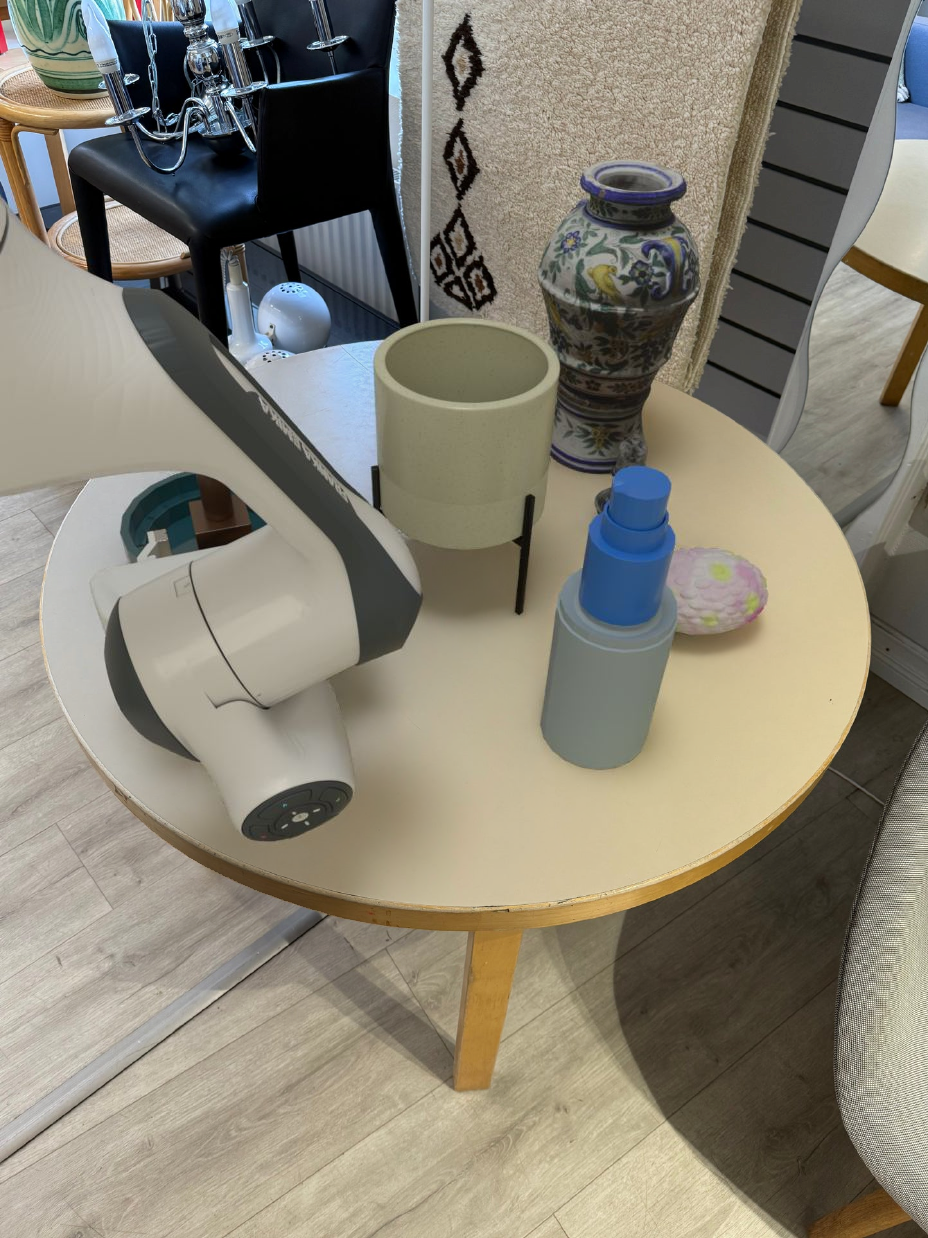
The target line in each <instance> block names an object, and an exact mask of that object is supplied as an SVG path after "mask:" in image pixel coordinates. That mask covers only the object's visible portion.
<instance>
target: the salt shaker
mask: <svg viewBox="0 0 928 1238" xmlns="http://www.w3.org/2000/svg"><path fill="white" fill-rule="evenodd" d="M632 437H633V438H628V439H625V440H624V441H623V442H621V444H620V446H619V451H618V457H617V463H616V465H615V466H613V467H612V469H611V473H610V475H611V476H612V482H611V487H607V488H604V489H602V490H601V491H599V492H598V493H597V494H596V495H595V497H594V502H593V504H594V507H595V510H596V513H597V515H599V514H600V513H602V512H603V511H604V506H605V504H606V503H607V501H608V500H610V497H611V491H612V485H613V480H614V476H615V475H616V473H617V472H618V471H619V470H621V469H623V468H626V467H630V466H644V467H646V462H647V457H648V453H649V448H648V444H647V443H646V441H645V440H644V441H642V440H641V439H638V438H639V435H638V434H637V433H635V434H634V435H632Z"/></svg>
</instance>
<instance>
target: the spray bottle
mask: <svg viewBox="0 0 928 1238" xmlns="http://www.w3.org/2000/svg"><path fill="white" fill-rule="evenodd" d="M612 481H613V485H612V484H611V486H612V491H611V497H610V500H608V501H607V503H606V504H605V506H604V511H603V512H602V513H600V514H599V515H598V514H597V515H595V516H594V518H593V519H592V520H591V522H590V523H589V526H588V532H587V537H586V544H585V551H584V558H583V564H582V567H580V568H579V569H578V570H576V571H574V572H573V573H572V574H570V575H568V577H567V579H566V580H565V582H563V585H562V586H561V590H560V591H559V593H558V594H557V601H556V607H555V609H556V610H555V615H554V623H553V630H552V637H551V646H550V650H549V651H550V652H549V659H548V666H547V673H546V680H545V689H544V696H543V704H542V710H541V716H540V723H539V725H540V729H541V734H542V736H543V739H544V741H545V742H546V743H547V745H548V746H549V748H550V749H551V751H553V752H554V753H555V754H557V755H558V756H559V757H560V758H561V759H563V760H564V761H566V762H568V763H570V764H573V765H575V766H578V767H579V768H585V769H593V770H608V769H616V768H618V767H621V766H623V765H625V764H629V763H630V762H631V761H633V760H634V759H635V758H636V757H637V756H638V755H639V754H640V753H641V752H642V749H643V747H644V746H645V743H646V741H647V738H648V734H649V731H650V726H651V723H652V719H653V715H654V712H655V708H656V704H657V701H658V697H659V694H660V690H661V687H662V682H663V678H664V675H665V672H666V668H667V664H668V660H669V656H670V652H671V650H672V645H673V642H674V637H675V634H676V627H677V601H676V599H675V596H674V594H673V592H672V590H671V589H670V588H669V587H668V586H667V585H666V580H667V576H668V572H669V568H670V564H671V560H672V556H673V552H674V551H675V548H676V547H675V546H676V534H675V531H674V529H673V528H672V526H671V525H670V524H669V521H670V513H669V511H668V504H669V500H670V496H671V492H672V482H671V480H670V478H669V476H667V475H666V474H665V473H664V471H663V472H662V471H660V470H659V469H656V468H653V467H649V466H645V467H644V466H630V467H626V468H623V469H621V470H619V471H618V472H617V473H616V475H615V476H614V480H613V479H612Z"/></svg>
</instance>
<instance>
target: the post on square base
mask: <svg viewBox="0 0 928 1238" xmlns="http://www.w3.org/2000/svg"><path fill="white" fill-rule="evenodd" d="M195 474H196V473H195ZM196 478H197V483H198V488H199V492H200V497H201V500H198V501H192V502H189V508H190V512H191V517H192V522H193V526H194V531H195V536H196V540H197V545H198V549H199V550H204V549H209V548H214V547H219V546H224V545H227V544H230V543H232V542H234V541H236V540H238V539H240V538H242V537H244V536H246V535H248V534H250V533H252V526H251V522H250V518H249V515H248V511H247V508H246V504H245V502H243V501H242V500H241V499H240V498H239V497H238V496H237V495H236V494H233V495H231V491H230V489H229V488H228V487H227V486H226V485H225V484H223V483H222V482H220V481H218V480H216V479H214V478H211V477H208V476H205V475H202V474H196Z"/></svg>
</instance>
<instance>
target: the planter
mask: <svg viewBox="0 0 928 1238" xmlns="http://www.w3.org/2000/svg"><path fill="white" fill-rule="evenodd" d="M372 361H373V363H372V365H373V387H374V408H375V409H374V412H375V415H374V416H375V436H376V438H375V439H376V458H377V461H376V462H377V464H376V465H370V475H371V477H370V481H371V495H372V497H371V500H372V507H374V508H375V509H376V510H377V511H379V512H380V513H381V514H382V515H383V516H384V517H385V518H386V519H387V520H388V521H389V522H390V523H391V524H392V525H393V526H394V528H395V529H396V530H397V531H398V532H401V533H402V534H404V535H406V536H407V537H409V538H411V539H413V540H416V541H417V542H421V543H423V544H426V545H430V546H432V547H433V546H434V547H438V548H443V549H450V550H479V549H486V548H493V547H496V546H500V545H504V544H506V543H509V542H512V543H514V544H515V545H517V546H518V547H520V549H519V550H520V551H519V552H520V553H519V563H518V573H517V582H516V583H517V584H516V592H515V603H514V614H516V615H518V616H521V615H522V614H523V613H524V610H525V600H526V589H527V581H528V570H529V562H530V552H531V543H532V534H533V533H532V532H533V527H534V526H535V525H536V524H537V522H539V520H540V518H541V516H542V514H543V512H544V508H545V503H546V494H547V486H548V478H549V470H550V460H551V456H550V453H551V444H552V435H553V427H554V418H555V409H556V402H557V392H558V383H559V375H560V362H559V359H558V356H557V354H556V353H555V351H554V350H553V349H552V347H551V346H550V345H549V342H546V340H544V339H542V337H540V336H538V335H536V334H535V333H533V332H531V331H529V330H527V329H524V328H522V327H519V326H517V325H513V324H511V323H507V322H502V321H498V320H493V319H488V318H487V319H486V318H476V317H445V318H437V319H431V320H425V321H421V322H418V323H414V324H411V325H408V326H406V327H403V328H401V329H399V330H397V331H395V332H393V333H391V334H390V335H389V336H387V337H386V338H385V339H384V340H383V341H382V342H380V344H379V345H378V347H377V348H376V350H375V352H374V355H373V360H372Z"/></svg>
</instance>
